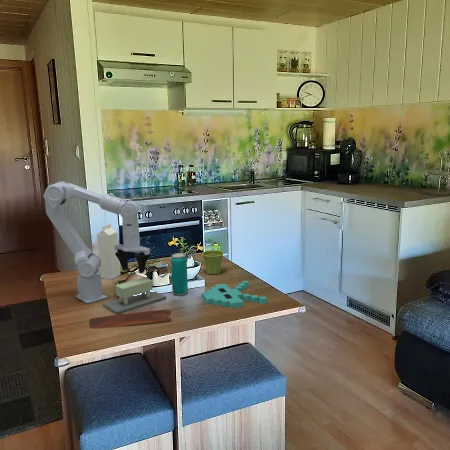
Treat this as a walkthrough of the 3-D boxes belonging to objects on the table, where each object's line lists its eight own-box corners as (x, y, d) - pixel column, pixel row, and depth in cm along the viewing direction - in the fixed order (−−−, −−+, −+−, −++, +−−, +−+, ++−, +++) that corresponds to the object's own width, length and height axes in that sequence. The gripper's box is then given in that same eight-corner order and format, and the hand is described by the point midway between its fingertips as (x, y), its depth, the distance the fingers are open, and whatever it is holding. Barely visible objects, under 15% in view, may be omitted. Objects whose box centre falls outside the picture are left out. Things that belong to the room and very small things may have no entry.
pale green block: (144, 286, 167) (144, 277, 166) (152, 289, 163) (152, 280, 162) (115, 294, 159) (115, 285, 158) (123, 298, 155) (122, 288, 154)
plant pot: (208, 277, 187) (208, 257, 185) (198, 271, 195) (198, 252, 194) (228, 273, 192) (227, 254, 190) (217, 268, 200) (217, 249, 198)
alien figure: (246, 286, 178) (197, 292, 172) (246, 280, 177) (197, 287, 171) (267, 304, 159) (212, 312, 153) (267, 298, 159) (212, 306, 153)
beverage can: (183, 289, 174) (182, 252, 171) (190, 294, 169) (189, 255, 166) (169, 292, 171) (168, 254, 168) (176, 297, 166) (175, 258, 163)
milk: (100, 278, 189) (95, 226, 185) (108, 273, 195) (104, 223, 190) (112, 279, 187) (108, 227, 182) (120, 274, 193) (116, 224, 188)
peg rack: (102, 306, 159) (102, 295, 158) (151, 292, 172) (150, 282, 171) (117, 314, 152) (116, 303, 151) (166, 299, 165) (165, 288, 164)
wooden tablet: (170, 311, 155) (170, 307, 155) (172, 323, 145) (172, 319, 145) (89, 318, 150) (89, 314, 150) (86, 331, 141) (86, 326, 140)
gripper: (107, 235, 162) (110, 271, 165) (140, 239, 156) (142, 277, 158) (121, 231, 168) (123, 266, 171) (152, 235, 162) (154, 271, 165)
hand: (133, 271), depth 165 cm, fingers open, 7 cm apart
